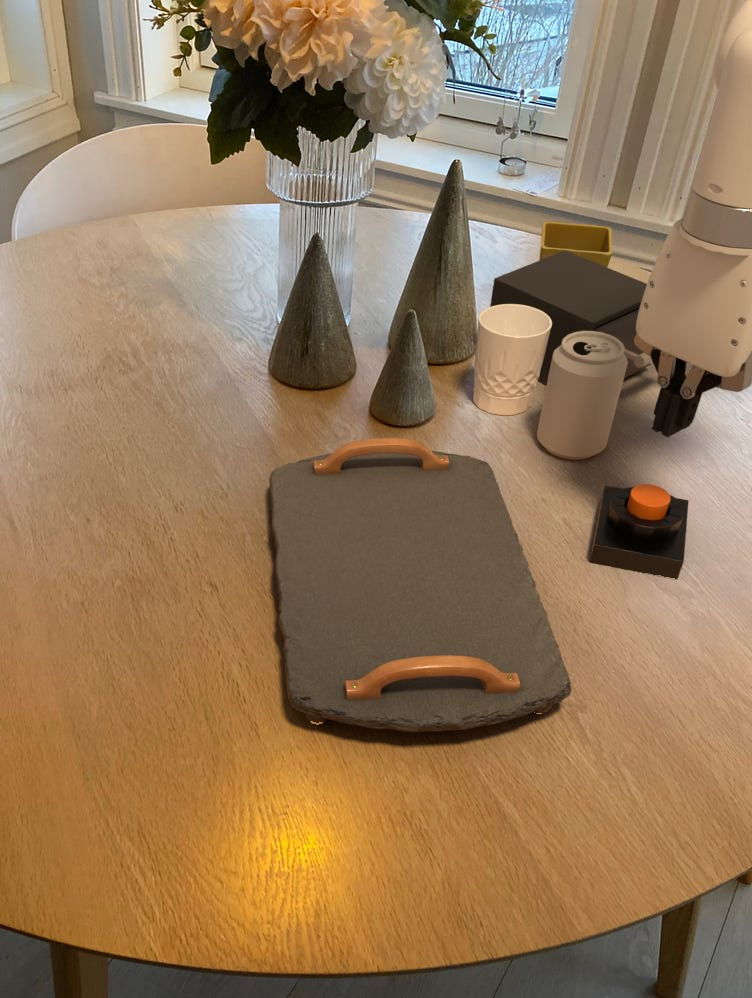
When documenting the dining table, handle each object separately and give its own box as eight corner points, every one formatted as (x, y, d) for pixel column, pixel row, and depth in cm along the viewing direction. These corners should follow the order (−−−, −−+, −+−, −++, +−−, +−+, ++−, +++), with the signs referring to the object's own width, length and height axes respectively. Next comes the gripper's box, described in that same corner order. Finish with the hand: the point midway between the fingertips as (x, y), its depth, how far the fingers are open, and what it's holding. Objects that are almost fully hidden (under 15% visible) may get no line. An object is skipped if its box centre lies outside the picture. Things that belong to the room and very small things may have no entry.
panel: (600, 503, 101) (609, 470, 98) (682, 518, 99) (693, 484, 96) (589, 562, 94) (598, 529, 91) (677, 580, 92) (689, 546, 89)
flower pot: (597, 292, 135) (612, 225, 129) (597, 321, 129) (613, 253, 123) (531, 286, 137) (543, 220, 130) (528, 315, 131) (540, 247, 124)
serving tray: (581, 744, 78) (598, 690, 74) (287, 758, 77) (287, 704, 73) (481, 465, 106) (489, 414, 101) (264, 474, 105) (263, 423, 101)
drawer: (680, 378, 117) (699, 316, 111) (618, 411, 112) (635, 347, 106) (562, 324, 127) (575, 264, 121) (501, 351, 122) (511, 290, 116)
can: (535, 423, 112) (555, 323, 103) (604, 429, 110) (630, 329, 102) (534, 460, 106) (555, 357, 98) (606, 467, 105) (634, 364, 97)
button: (628, 496, 96) (632, 481, 94) (667, 503, 95) (672, 487, 93) (624, 517, 93) (629, 502, 92) (664, 524, 92) (669, 509, 91)
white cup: (536, 421, 112) (553, 339, 105) (466, 416, 113) (477, 334, 106) (535, 386, 117) (551, 306, 110) (468, 381, 118) (479, 301, 112)
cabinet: (643, 366, 120) (664, 290, 114) (575, 400, 115) (593, 322, 108) (550, 323, 129) (564, 250, 122) (483, 353, 123) (494, 278, 117)
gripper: (856, 235, 72) (769, 451, 85) (682, 179, 81) (627, 382, 93) (799, 261, 69) (717, 482, 82) (623, 199, 77) (574, 407, 90)
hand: (669, 428), depth 87 cm, fingers closed
